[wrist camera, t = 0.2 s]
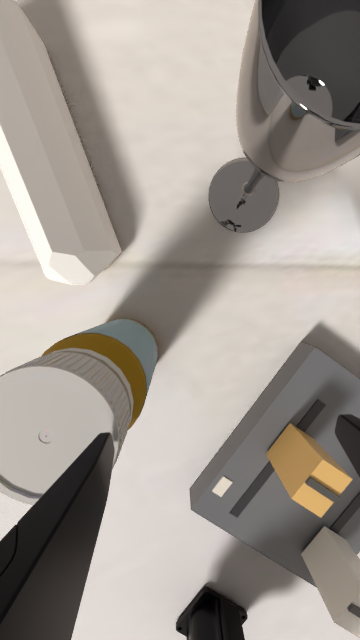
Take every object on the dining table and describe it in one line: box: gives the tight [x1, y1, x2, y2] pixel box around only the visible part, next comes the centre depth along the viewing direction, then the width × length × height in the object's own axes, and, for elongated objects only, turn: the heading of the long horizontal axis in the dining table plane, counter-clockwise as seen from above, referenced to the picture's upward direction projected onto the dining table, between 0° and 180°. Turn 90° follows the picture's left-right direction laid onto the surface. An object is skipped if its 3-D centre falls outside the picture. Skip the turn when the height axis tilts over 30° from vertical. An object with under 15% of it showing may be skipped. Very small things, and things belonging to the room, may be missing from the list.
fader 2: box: [301, 526, 360, 638], centre depth 21 cm, size 4×3×5 cm
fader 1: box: [266, 423, 353, 518], centre depth 20 cm, size 4×3×5 cm
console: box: [190, 342, 360, 587], centre depth 24 cm, size 21×18×3 cm
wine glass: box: [209, 0, 360, 232], centre depth 15 cm, size 8×8×15 cm
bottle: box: [0, 319, 158, 505], centre depth 17 cm, size 7×7×15 cm
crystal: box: [0, 0, 122, 285], centre depth 20 cm, size 7×7×24 cm
